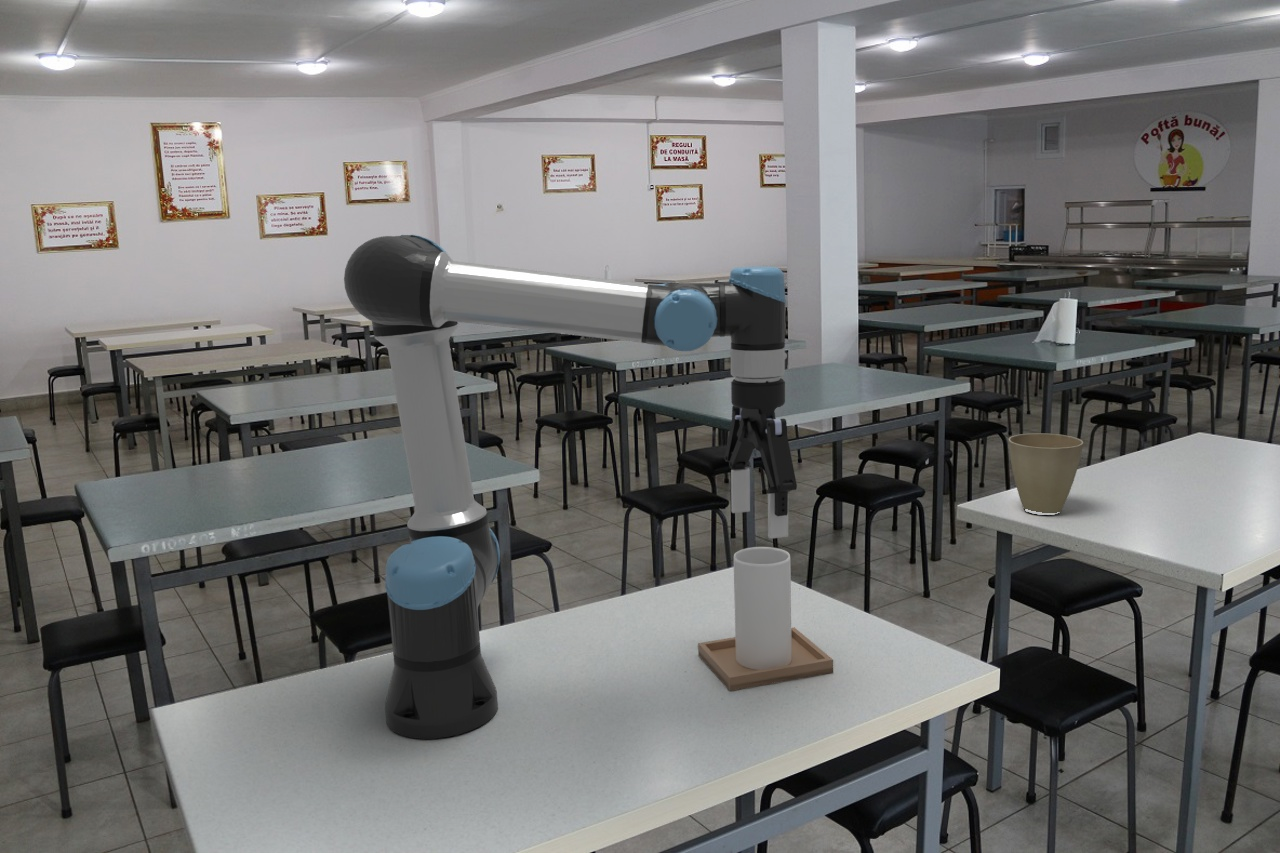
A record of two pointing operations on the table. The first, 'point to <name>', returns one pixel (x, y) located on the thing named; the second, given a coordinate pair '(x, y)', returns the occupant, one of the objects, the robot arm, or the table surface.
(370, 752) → the table surface
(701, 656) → the tray
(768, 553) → the cup
